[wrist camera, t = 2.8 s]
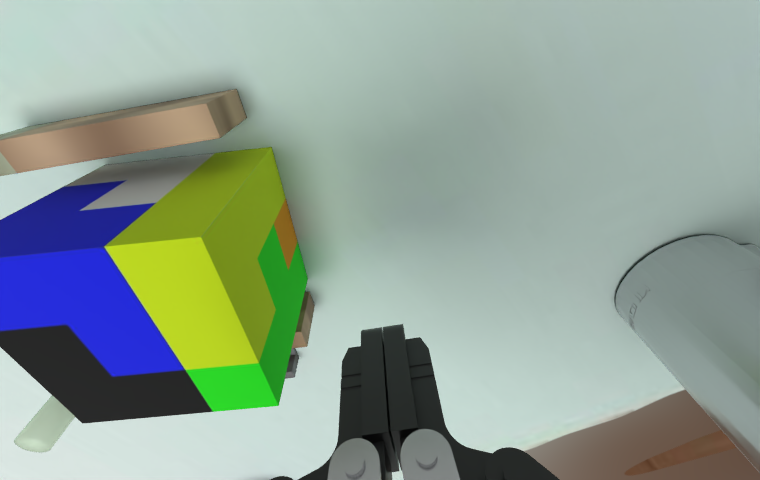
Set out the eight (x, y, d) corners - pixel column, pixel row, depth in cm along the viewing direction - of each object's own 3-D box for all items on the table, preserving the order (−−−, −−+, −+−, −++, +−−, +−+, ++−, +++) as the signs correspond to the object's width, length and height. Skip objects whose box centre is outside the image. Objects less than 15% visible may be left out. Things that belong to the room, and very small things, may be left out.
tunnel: (236, 89, 18) (206, 103, 14) (331, 352, 29) (327, 394, 26) (27, 126, 18) (-49, 149, 15) (201, 370, 30) (181, 413, 27)
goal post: (121, 325, 27) (39, 426, 20) (145, 354, 29) (77, 454, 22) (79, 331, 27) (-16, 433, 20) (106, 360, 29) (27, 461, 22)
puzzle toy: (106, 164, 20) (-87, 266, 11) (271, 146, 20) (201, 236, 11) (177, 290, 25) (82, 423, 17) (307, 278, 25) (278, 405, 17)
